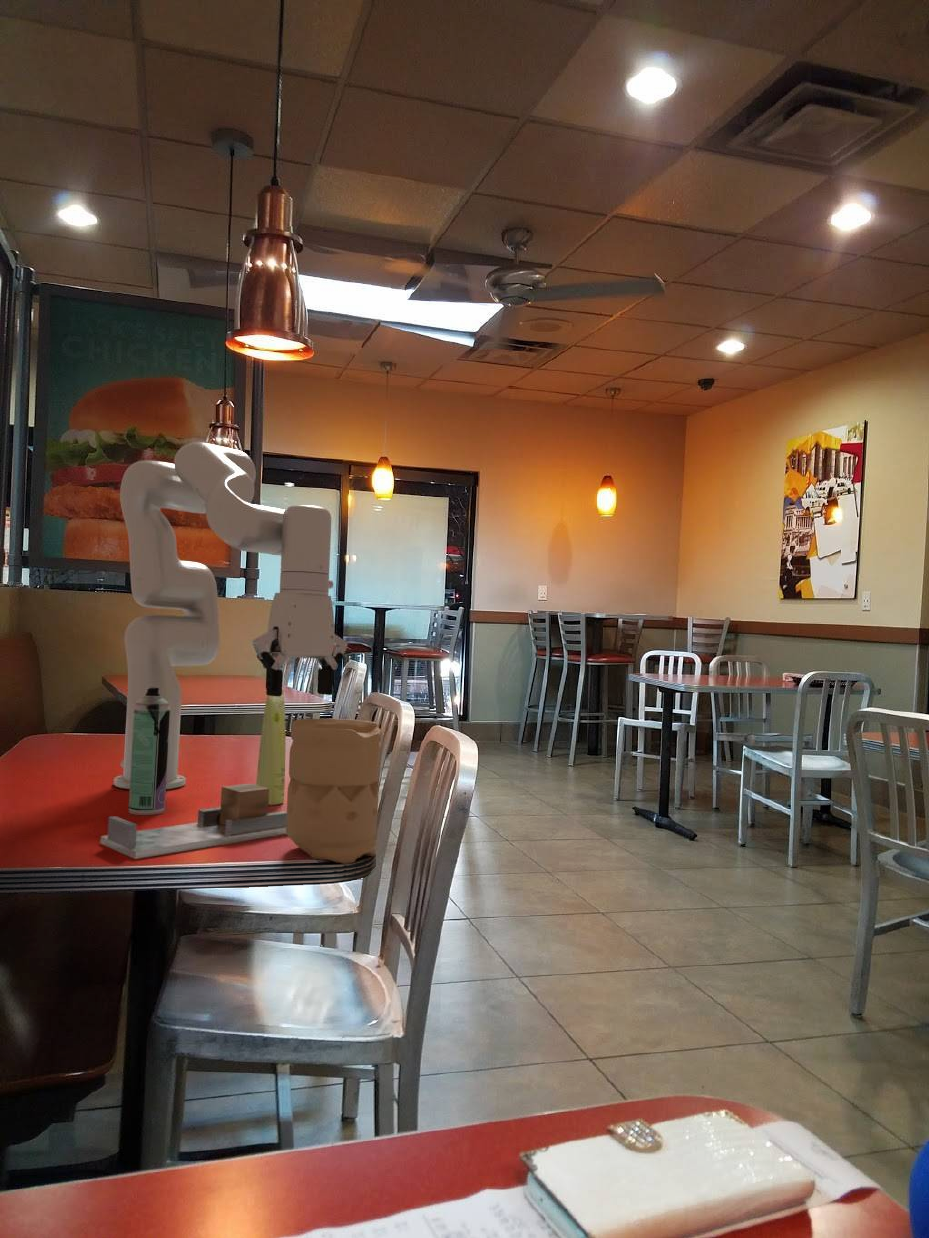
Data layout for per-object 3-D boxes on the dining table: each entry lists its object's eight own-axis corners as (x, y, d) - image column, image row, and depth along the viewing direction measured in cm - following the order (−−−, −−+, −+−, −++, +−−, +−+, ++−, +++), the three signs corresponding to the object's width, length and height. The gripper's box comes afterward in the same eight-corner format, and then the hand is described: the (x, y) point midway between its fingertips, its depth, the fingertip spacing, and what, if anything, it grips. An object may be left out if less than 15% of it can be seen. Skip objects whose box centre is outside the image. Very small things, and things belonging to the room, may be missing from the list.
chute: (100, 843, 121) (102, 814, 121) (255, 820, 139) (256, 795, 139) (135, 859, 114) (137, 828, 114) (293, 832, 132) (294, 806, 132)
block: (219, 823, 132) (221, 786, 132) (248, 819, 135) (250, 783, 135) (238, 829, 128) (240, 792, 128) (267, 825, 132) (269, 788, 132)
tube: (289, 805, 152) (295, 692, 152) (261, 807, 149) (267, 692, 149) (277, 798, 157) (283, 689, 157) (250, 800, 154) (256, 689, 154)
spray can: (170, 812, 142) (177, 688, 142) (138, 816, 138) (145, 689, 138) (154, 806, 145) (160, 685, 146) (122, 810, 141) (129, 686, 142)
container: (387, 846, 127) (393, 722, 127) (357, 869, 115) (364, 731, 115) (306, 837, 130) (312, 716, 130) (268, 858, 118) (275, 724, 118)
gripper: (333, 589, 146) (329, 692, 146) (243, 582, 133) (238, 694, 133) (362, 588, 141) (358, 695, 141) (271, 581, 128) (266, 698, 128)
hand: (300, 695), depth 137 cm, fingers open, 9 cm apart
